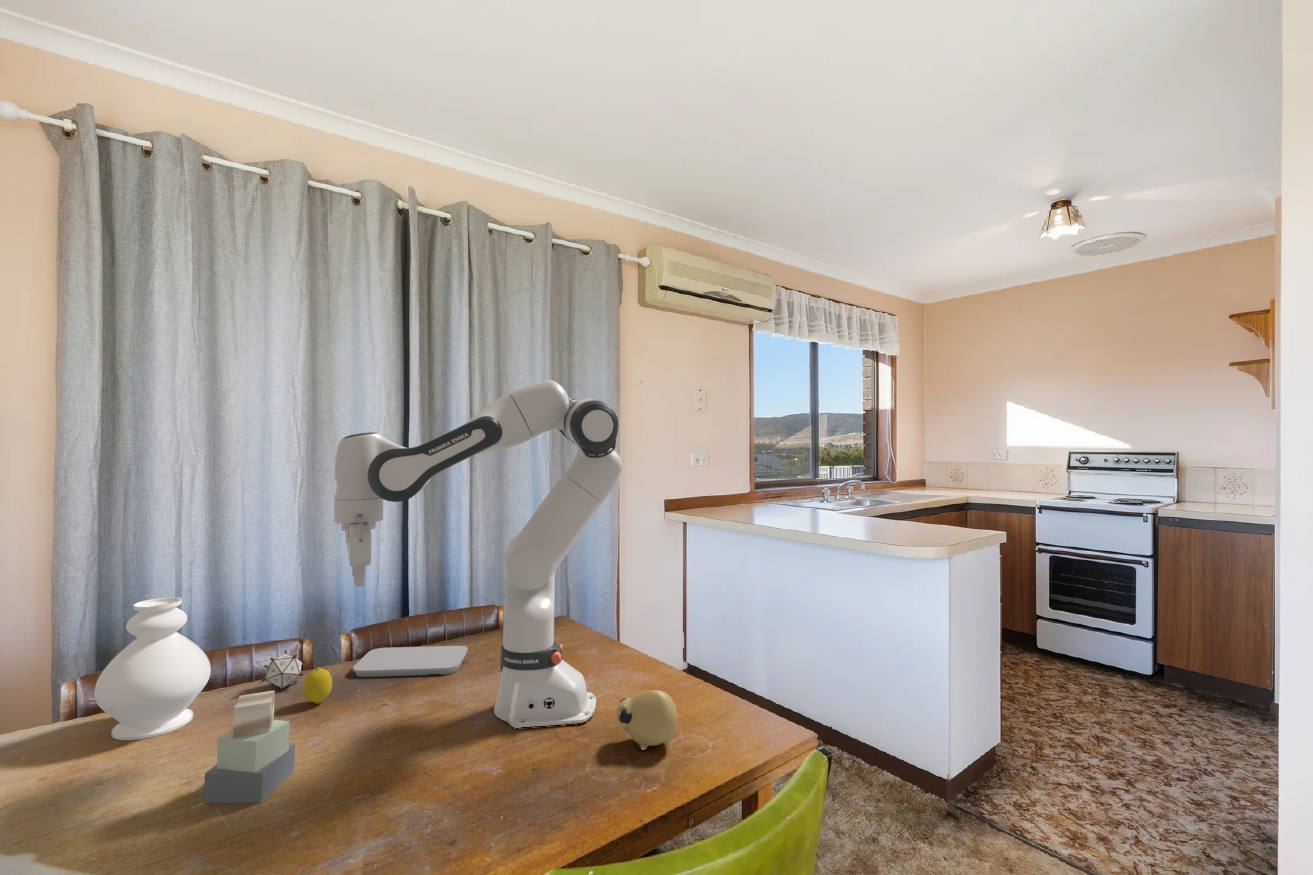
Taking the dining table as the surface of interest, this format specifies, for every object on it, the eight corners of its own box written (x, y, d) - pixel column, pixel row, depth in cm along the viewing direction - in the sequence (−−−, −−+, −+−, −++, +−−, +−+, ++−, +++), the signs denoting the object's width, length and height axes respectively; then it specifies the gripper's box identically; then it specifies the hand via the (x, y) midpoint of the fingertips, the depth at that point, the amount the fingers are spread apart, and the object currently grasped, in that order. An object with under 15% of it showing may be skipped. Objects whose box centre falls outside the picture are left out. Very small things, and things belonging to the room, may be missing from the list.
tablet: (457, 676, 145) (457, 667, 145) (348, 680, 141) (348, 670, 141) (469, 653, 161) (469, 645, 161) (372, 656, 157) (372, 648, 157)
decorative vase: (164, 701, 127) (168, 588, 127) (230, 710, 123) (234, 594, 124) (67, 741, 110) (72, 610, 110) (140, 753, 106) (145, 617, 106)
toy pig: (618, 731, 118) (619, 679, 118) (676, 732, 117) (677, 680, 118) (613, 756, 108) (614, 700, 108) (677, 758, 107) (678, 701, 108)
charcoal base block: (294, 772, 101) (295, 744, 101) (261, 804, 92) (262, 773, 92) (242, 772, 101) (242, 744, 101) (203, 804, 92) (204, 773, 92)
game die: (276, 707, 133) (247, 681, 128) (280, 681, 140) (253, 656, 135) (314, 685, 135) (287, 659, 130) (316, 660, 142) (291, 635, 138)
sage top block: (288, 750, 99) (289, 721, 99) (255, 772, 92) (256, 741, 92) (252, 746, 100) (253, 717, 100) (216, 768, 93) (217, 737, 93)
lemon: (337, 699, 130) (338, 663, 130) (320, 710, 124) (321, 673, 124) (314, 697, 130) (315, 662, 130) (296, 708, 125) (298, 671, 125)
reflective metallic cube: (269, 732, 95) (270, 702, 96) (233, 738, 93) (234, 707, 93) (273, 719, 100) (274, 690, 100) (238, 725, 98) (239, 695, 98)
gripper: (380, 517, 108) (379, 590, 108) (373, 507, 126) (372, 569, 126) (342, 519, 105) (340, 594, 105) (340, 508, 123) (339, 572, 122)
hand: (358, 580), depth 115 cm, fingers open, 8 cm apart
